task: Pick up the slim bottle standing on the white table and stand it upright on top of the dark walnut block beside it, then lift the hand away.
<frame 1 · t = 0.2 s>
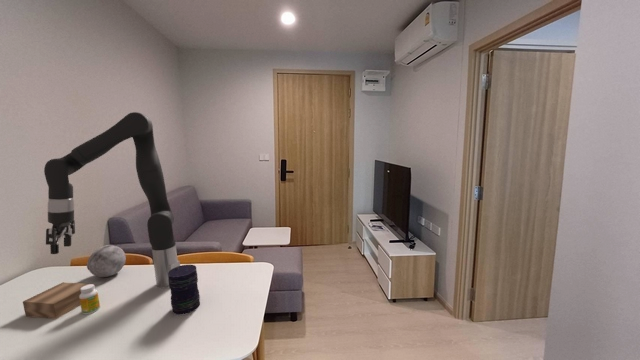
hand: (61, 249, 109), 22 cm above the table, tool pointing down, fingers open, 8 cm apart
decorative orb: (109, 275, 135), on the table
storage jar: (186, 307, 106), on the table
walnut block: (61, 306, 109), on the table
supplement bottle: (91, 310, 106), on the table
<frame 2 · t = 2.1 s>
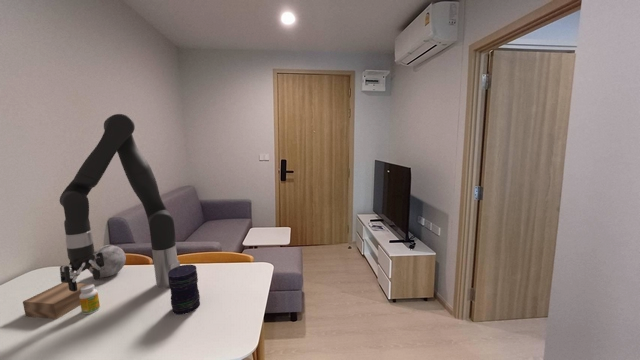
hand: (85, 285, 105), 10 cm above the table, tool pointing down, fingers open, 8 cm apart
nothing on the table moved.
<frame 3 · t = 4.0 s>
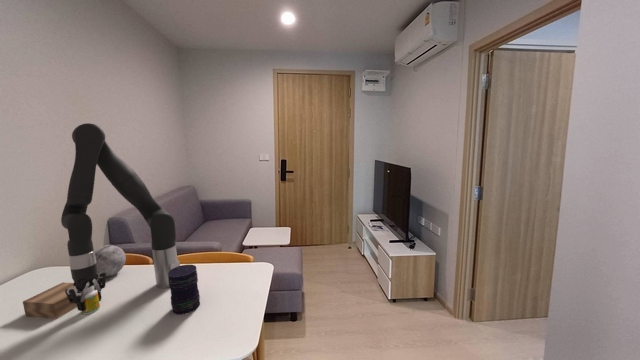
hand: (90, 305, 106), 2 cm above the table, tool pointing down, fingers closed on supplement bottle, 5 cm apart
supplement bottle: (91, 310, 106), on the table, touching gripper
everything else where it was.
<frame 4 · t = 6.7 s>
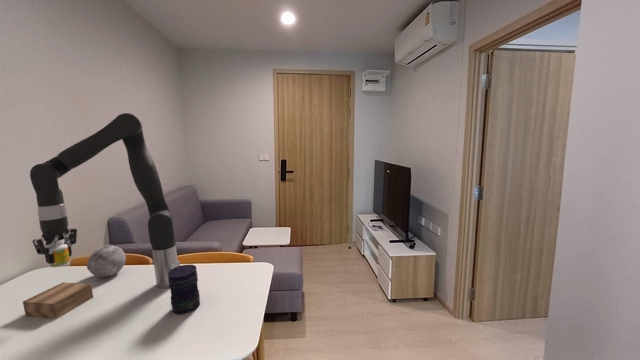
hand: (59, 259, 105), 20 cm above the table, tool pointing down, fingers closed on supplement bottle, 5 cm apart
supplement bottle: (60, 265, 105), point 18 cm above the table, touching gripper
everything else where it was.
when the fingers open (9 cm above the table, at t = 9.8 s): supplement bottle drops 1 cm, resting on walnut block.
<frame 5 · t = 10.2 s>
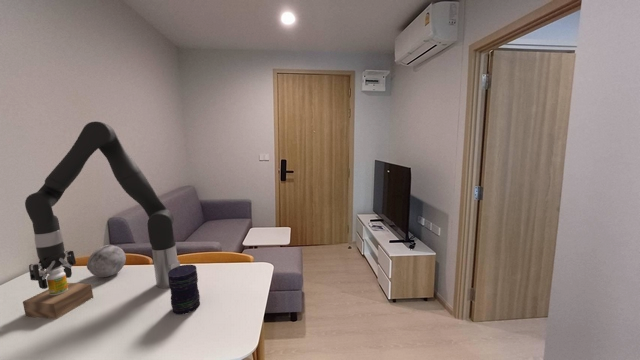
hand: (56, 282, 108), 10 cm above the table, tool pointing down, fingers open, 8 cm apart
supplement bottle: (59, 292, 109), point 6 cm above the table, touching walnut block
everything else where it was.
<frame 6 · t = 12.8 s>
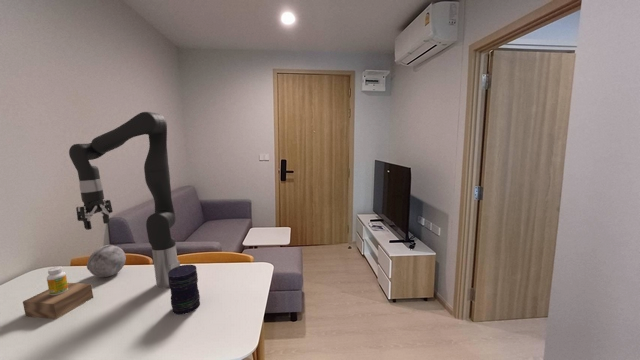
hand: (98, 226, 122), 27 cm above the table, tool pointing down, fingers open, 8 cm apart
nothing on the table moved.
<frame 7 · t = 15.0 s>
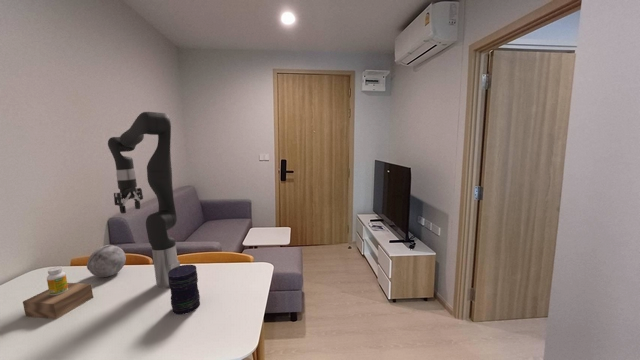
hand: (130, 211, 137), 30 cm above the table, tool pointing down, fingers open, 8 cm apart
nothing on the table moved.
at the end: supplement bottle inside the target area on the walnut block (0.1 cm from its centre), point 5.8 cm above the walnut block's base; supplement bottle tilted 0°; the gripper is holding nothing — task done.
